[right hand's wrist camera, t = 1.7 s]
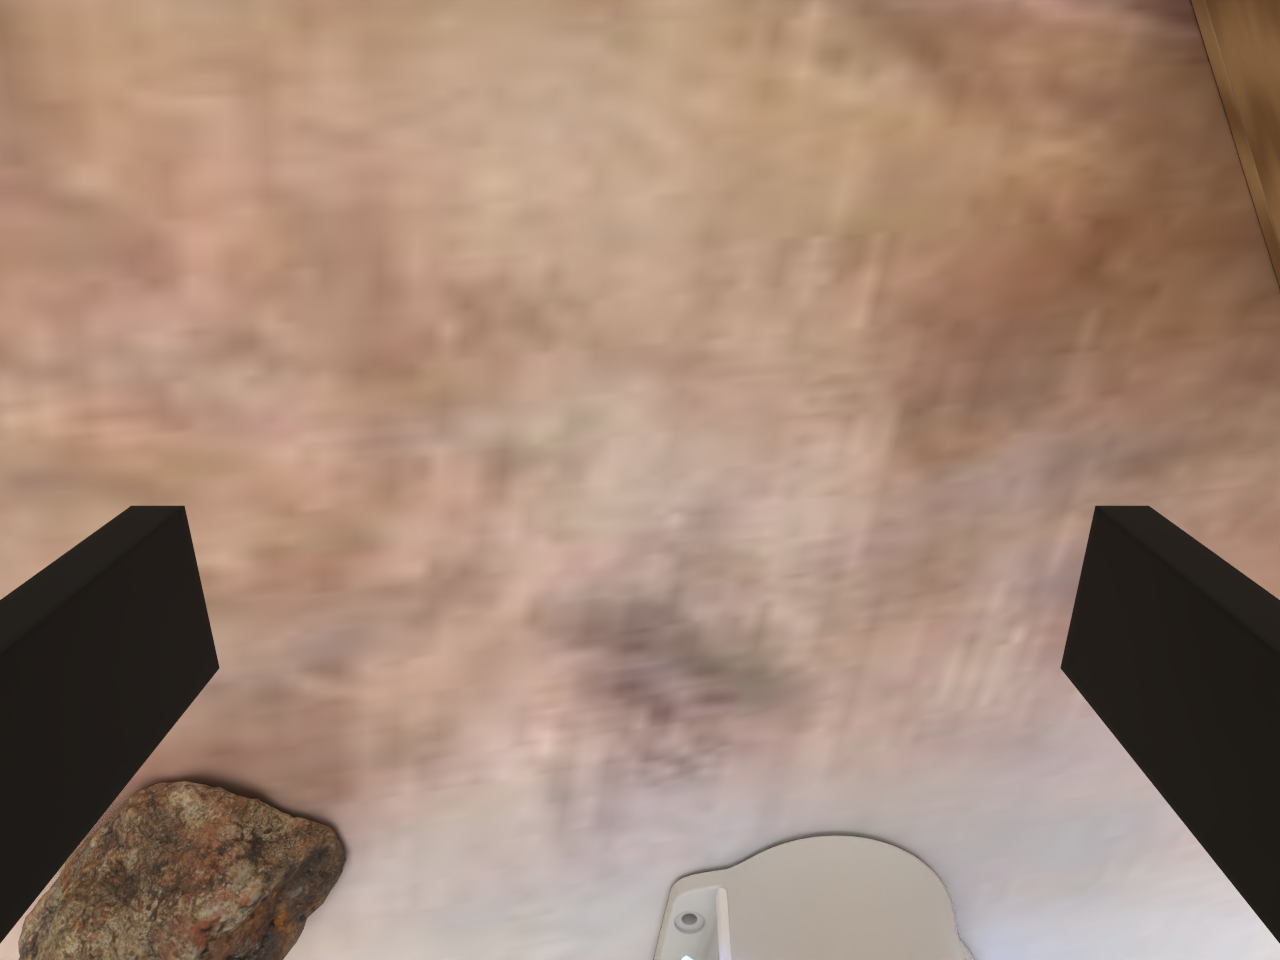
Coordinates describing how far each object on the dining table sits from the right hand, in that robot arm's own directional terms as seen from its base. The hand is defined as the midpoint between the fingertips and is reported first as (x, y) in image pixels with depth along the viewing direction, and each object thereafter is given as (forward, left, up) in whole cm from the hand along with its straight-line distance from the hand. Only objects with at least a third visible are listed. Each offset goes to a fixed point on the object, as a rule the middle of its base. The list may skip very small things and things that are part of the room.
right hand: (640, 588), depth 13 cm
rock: (+29, -24, -25) cm, 45 cm away
